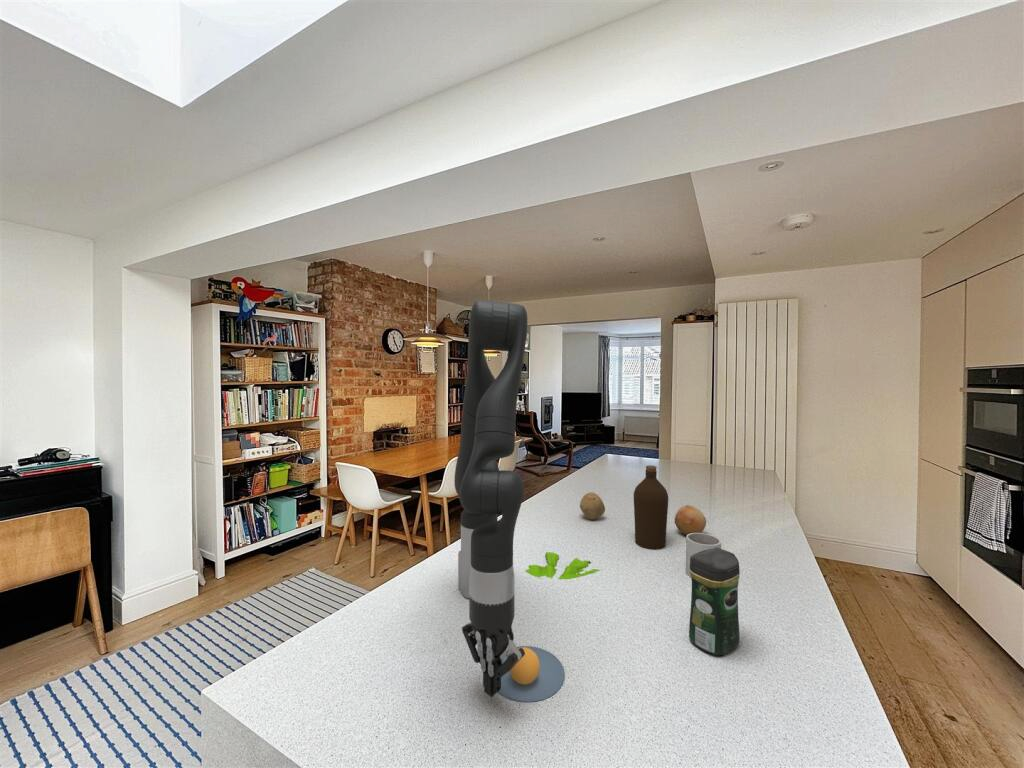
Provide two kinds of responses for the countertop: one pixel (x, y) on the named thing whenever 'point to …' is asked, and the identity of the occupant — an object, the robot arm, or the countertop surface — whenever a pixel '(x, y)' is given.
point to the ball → (526, 668)
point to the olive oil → (650, 511)
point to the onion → (690, 520)
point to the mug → (699, 545)
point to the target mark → (542, 685)
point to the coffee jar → (714, 601)
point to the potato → (592, 506)
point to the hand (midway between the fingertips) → (491, 692)
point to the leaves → (550, 569)
